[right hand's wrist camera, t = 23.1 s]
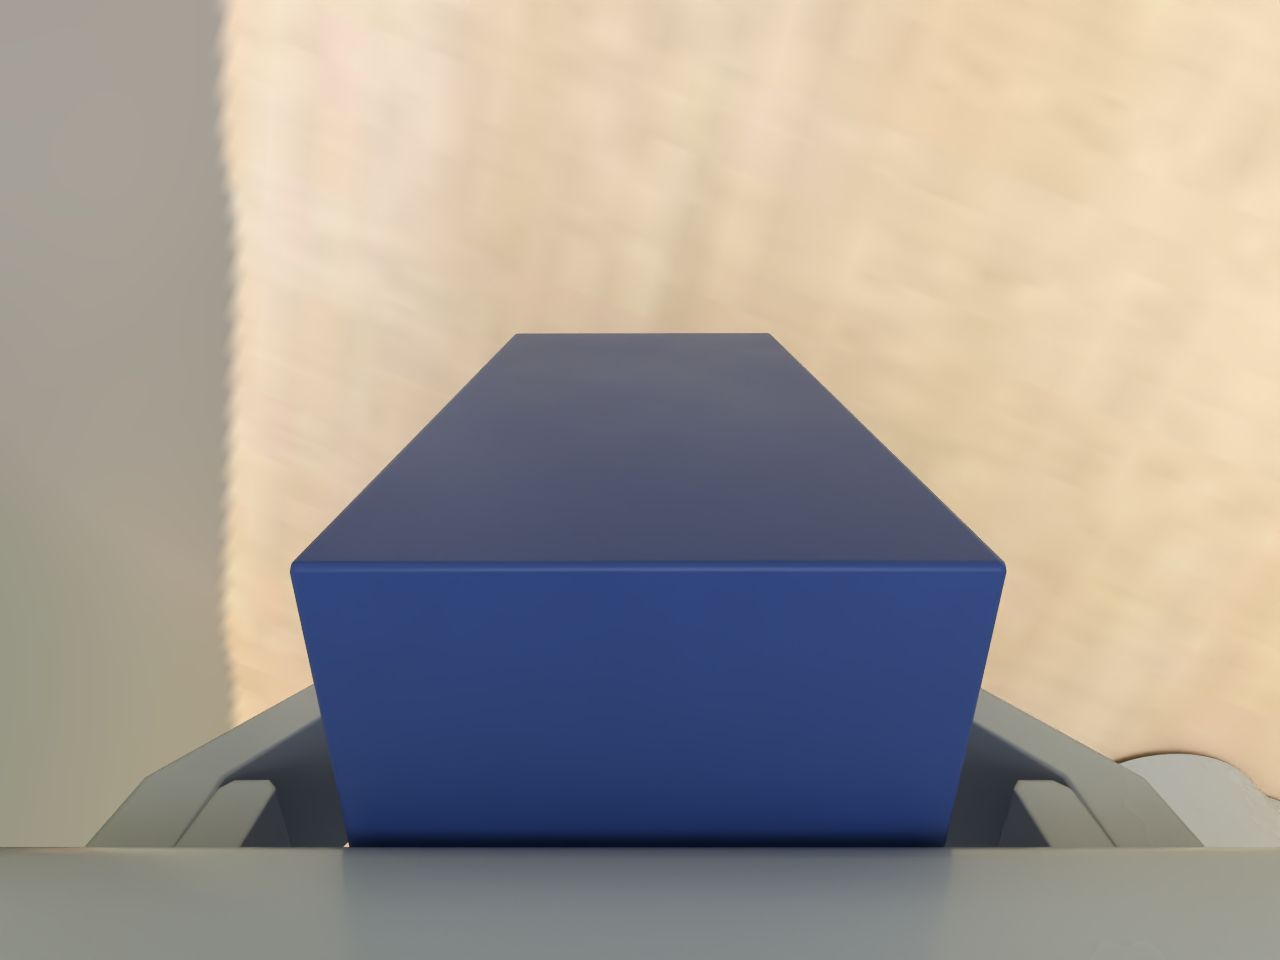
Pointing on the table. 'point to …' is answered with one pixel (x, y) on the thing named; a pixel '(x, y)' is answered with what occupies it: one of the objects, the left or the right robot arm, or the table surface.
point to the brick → (647, 613)
